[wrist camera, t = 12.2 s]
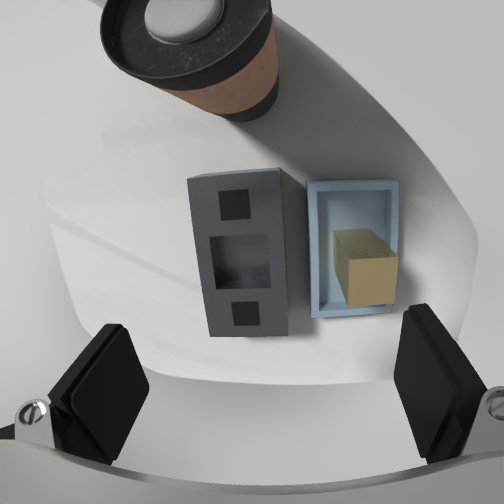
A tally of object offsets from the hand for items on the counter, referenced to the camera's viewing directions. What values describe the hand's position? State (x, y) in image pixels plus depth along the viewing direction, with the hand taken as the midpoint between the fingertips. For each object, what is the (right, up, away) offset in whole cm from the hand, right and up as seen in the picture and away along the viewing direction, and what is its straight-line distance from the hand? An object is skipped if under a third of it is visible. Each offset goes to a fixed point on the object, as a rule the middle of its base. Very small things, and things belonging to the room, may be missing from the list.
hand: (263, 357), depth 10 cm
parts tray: (+10, +4, +22) cm, 25 cm away
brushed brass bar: (+10, +4, +22) cm, 24 cm away
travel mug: (-1, +20, +19) cm, 27 cm away
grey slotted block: (-1, +4, +23) cm, 24 cm away
